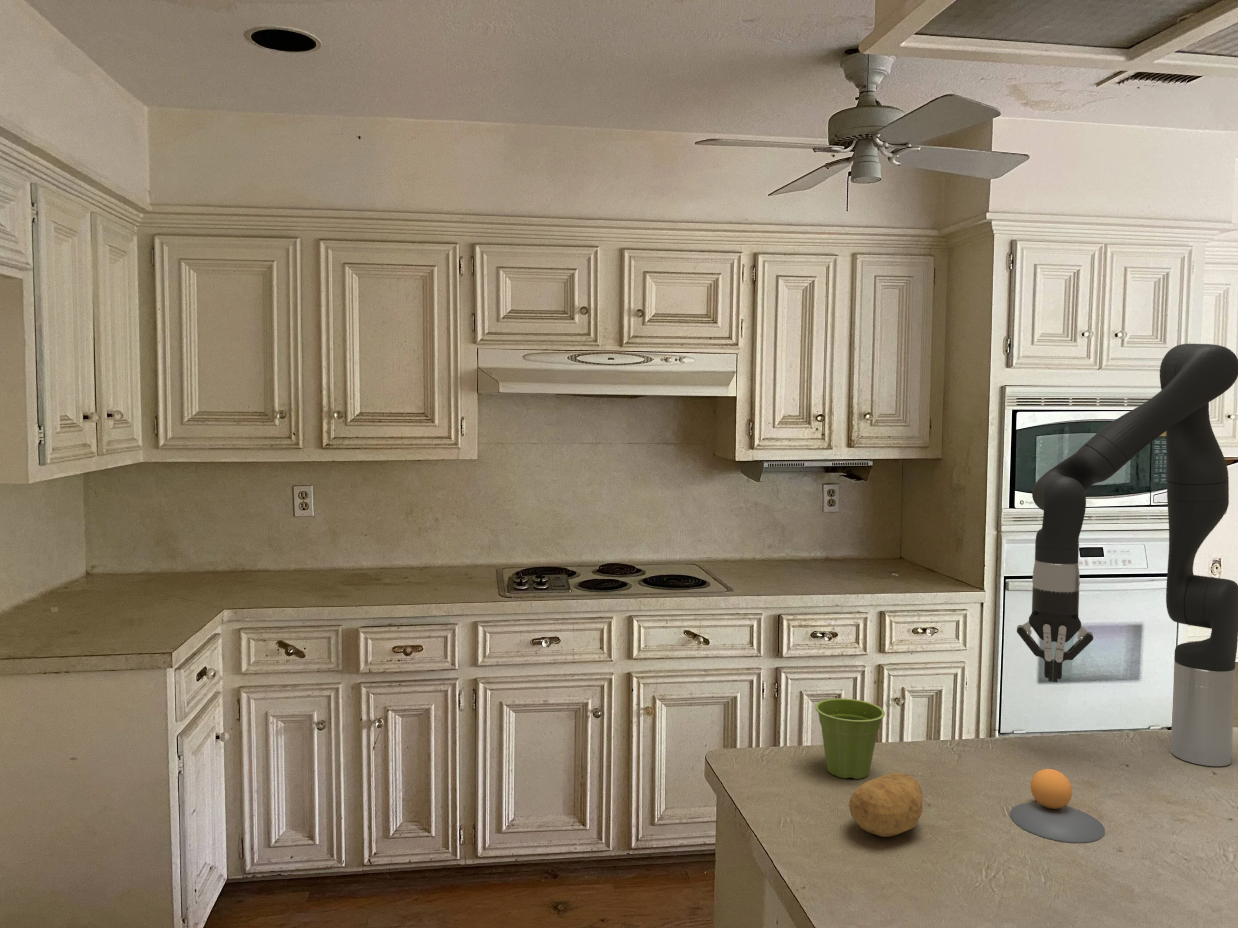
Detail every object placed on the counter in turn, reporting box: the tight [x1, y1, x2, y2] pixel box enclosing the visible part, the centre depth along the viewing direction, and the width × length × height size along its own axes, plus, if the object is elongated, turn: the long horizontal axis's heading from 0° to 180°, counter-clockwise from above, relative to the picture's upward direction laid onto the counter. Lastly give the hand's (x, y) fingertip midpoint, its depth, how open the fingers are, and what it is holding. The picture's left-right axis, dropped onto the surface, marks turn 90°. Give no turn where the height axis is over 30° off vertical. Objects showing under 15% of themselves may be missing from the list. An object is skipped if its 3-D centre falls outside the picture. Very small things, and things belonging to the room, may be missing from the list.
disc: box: [1009, 801, 1105, 844], centre depth 135 cm, size 13×13×1 cm
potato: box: [848, 772, 924, 838], centre depth 132 cm, size 10×14×8 cm
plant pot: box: [814, 697, 886, 780], centre depth 153 cm, size 12×12×11 cm
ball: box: [1029, 768, 1073, 809], centre depth 140 cm, size 6×6×6 cm
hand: (1052, 680), depth 158 cm, fingers closed
